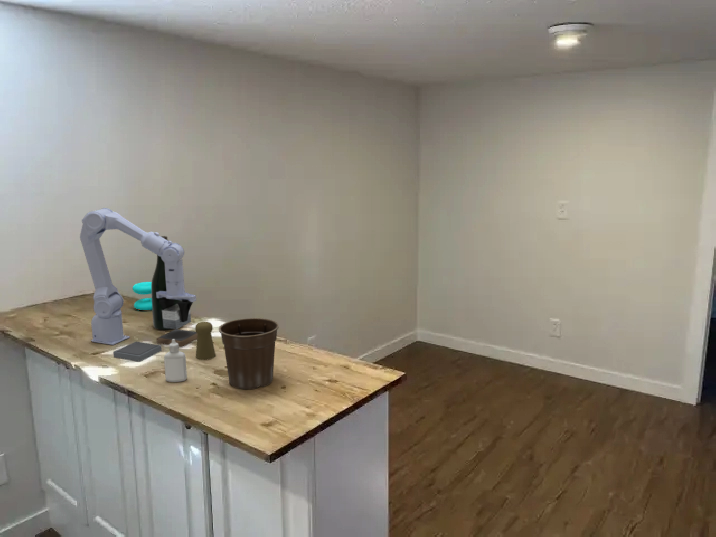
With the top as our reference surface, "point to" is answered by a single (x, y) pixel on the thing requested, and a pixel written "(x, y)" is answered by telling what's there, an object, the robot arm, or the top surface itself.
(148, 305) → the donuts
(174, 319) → the block
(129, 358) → the stand
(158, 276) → the dark green wine bottle
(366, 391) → the top surface
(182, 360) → the eye dropper bottle
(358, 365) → the top surface
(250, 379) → the plant pot
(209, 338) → the cork
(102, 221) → the robot arm
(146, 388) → the top surface
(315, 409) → the top surface
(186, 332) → the stand
